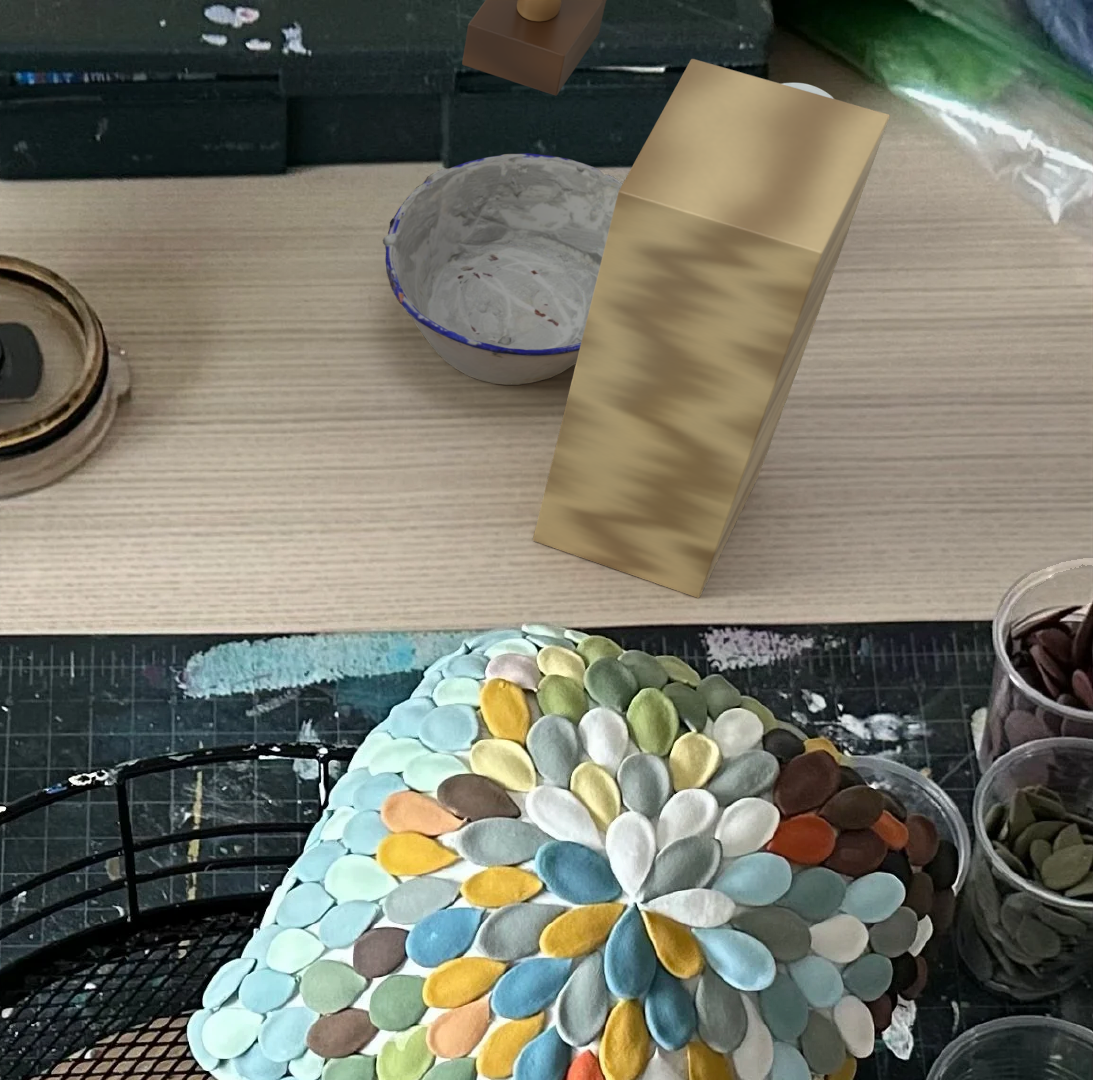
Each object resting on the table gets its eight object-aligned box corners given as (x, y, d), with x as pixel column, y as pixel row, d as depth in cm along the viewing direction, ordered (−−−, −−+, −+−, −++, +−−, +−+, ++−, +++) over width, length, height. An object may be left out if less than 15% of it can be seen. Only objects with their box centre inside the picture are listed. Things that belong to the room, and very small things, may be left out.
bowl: (406, 443, 108) (418, 368, 104) (350, 250, 114) (359, 170, 110) (676, 402, 108) (699, 325, 104) (606, 211, 114) (625, 130, 110)
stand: (759, 474, 106) (891, 114, 88) (699, 599, 103) (822, 253, 85) (595, 420, 108) (691, 57, 90) (532, 541, 105) (618, 191, 87)
